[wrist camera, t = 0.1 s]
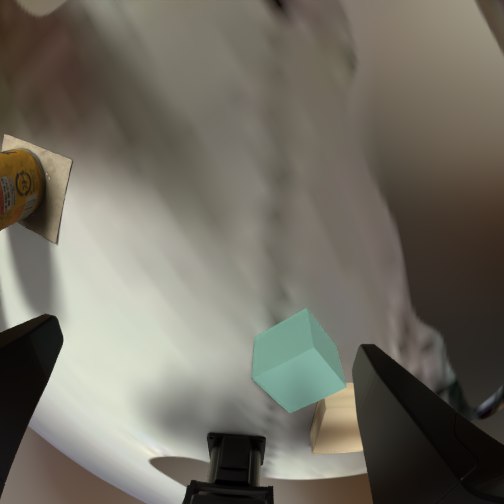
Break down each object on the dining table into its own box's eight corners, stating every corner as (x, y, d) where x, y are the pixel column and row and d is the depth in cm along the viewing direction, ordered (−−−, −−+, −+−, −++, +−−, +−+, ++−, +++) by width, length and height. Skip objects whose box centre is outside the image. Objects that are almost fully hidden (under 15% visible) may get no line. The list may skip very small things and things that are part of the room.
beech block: (377, 425, 31) (383, 448, 27) (309, 429, 31) (312, 454, 28) (398, 377, 28) (408, 401, 24) (321, 381, 28) (326, 408, 25)
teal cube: (287, 371, 27) (289, 413, 23) (254, 336, 26) (251, 378, 21) (336, 346, 26) (346, 387, 21) (306, 306, 25) (313, 347, 20)
